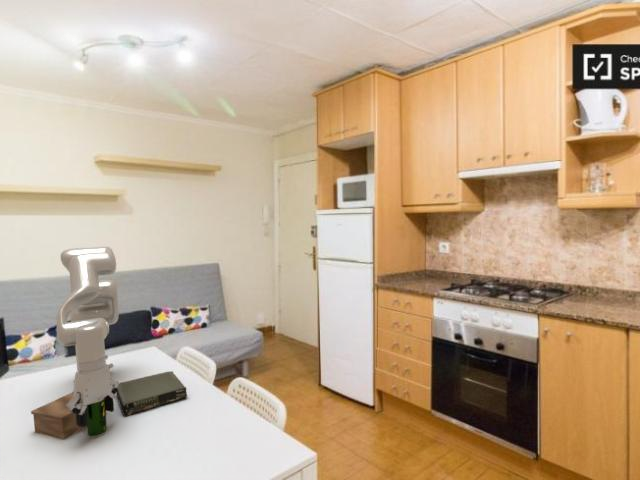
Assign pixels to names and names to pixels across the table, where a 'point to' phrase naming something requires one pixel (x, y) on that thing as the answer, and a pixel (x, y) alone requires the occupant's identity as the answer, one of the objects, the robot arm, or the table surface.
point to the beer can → (96, 418)
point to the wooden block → (56, 418)
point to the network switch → (149, 392)
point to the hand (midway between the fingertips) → (96, 418)
